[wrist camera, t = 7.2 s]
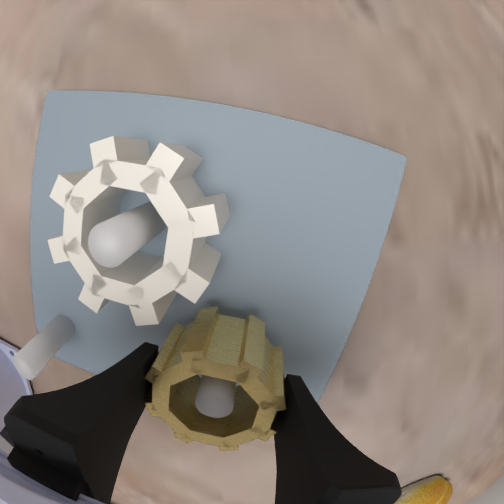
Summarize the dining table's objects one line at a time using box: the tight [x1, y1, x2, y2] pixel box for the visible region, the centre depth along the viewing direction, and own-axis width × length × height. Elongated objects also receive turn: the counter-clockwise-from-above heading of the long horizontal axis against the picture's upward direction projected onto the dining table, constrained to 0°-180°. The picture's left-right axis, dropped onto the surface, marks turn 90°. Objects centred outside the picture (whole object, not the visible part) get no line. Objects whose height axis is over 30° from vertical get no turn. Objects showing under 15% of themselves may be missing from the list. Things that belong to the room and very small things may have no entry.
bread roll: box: [394, 475, 452, 504], centre depth 21 cm, size 8×9×4 cm
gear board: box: [13, 90, 407, 418], centre depth 13 cm, size 18×16×6 cm
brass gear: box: [144, 307, 286, 451], centre depth 12 cm, size 6×6×3 cm
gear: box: [48, 136, 230, 326], centre depth 12 cm, size 7×7×3 cm
